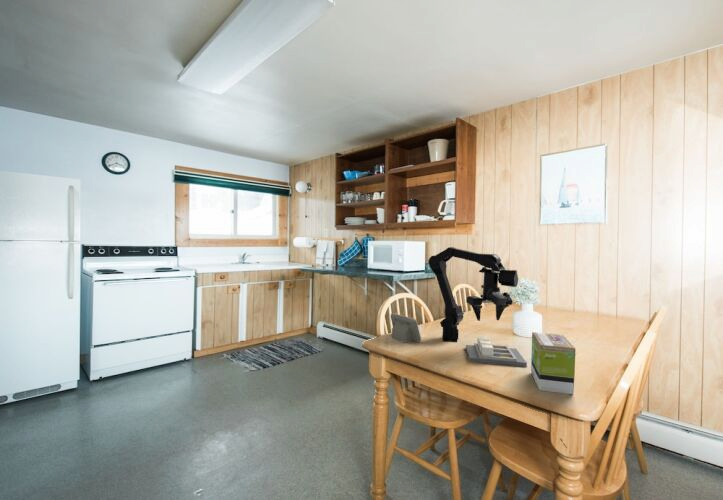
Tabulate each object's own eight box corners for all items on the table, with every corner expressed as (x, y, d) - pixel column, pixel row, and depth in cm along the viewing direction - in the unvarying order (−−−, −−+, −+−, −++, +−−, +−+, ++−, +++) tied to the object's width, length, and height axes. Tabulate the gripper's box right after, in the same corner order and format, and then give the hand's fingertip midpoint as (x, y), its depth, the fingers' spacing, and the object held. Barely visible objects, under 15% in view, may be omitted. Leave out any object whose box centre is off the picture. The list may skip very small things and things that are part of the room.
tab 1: (478, 349, 142) (478, 339, 141) (477, 346, 145) (477, 336, 145) (488, 349, 141) (489, 340, 141) (487, 347, 144) (487, 337, 144)
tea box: (529, 372, 123) (531, 330, 122) (561, 376, 120) (563, 333, 119) (538, 390, 108) (540, 343, 108) (574, 395, 105) (577, 347, 105)
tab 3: (481, 357, 132) (482, 347, 132) (480, 354, 135) (481, 344, 135) (493, 358, 131) (493, 348, 131) (491, 355, 135) (491, 345, 134)
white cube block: (480, 353, 137) (480, 343, 137) (478, 350, 140) (479, 340, 140) (490, 354, 136) (491, 343, 136) (489, 351, 139) (489, 341, 139)
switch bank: (469, 361, 132) (470, 355, 131) (465, 348, 147) (465, 342, 147) (526, 366, 128) (526, 360, 128) (516, 352, 143) (516, 346, 143)
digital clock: (422, 342, 154) (423, 318, 153) (405, 345, 150) (406, 320, 149) (403, 333, 168) (403, 311, 168) (386, 334, 164) (387, 312, 164)
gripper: (481, 287, 137) (479, 326, 138) (522, 287, 142) (520, 325, 142) (466, 282, 148) (464, 319, 149) (505, 282, 152) (502, 318, 153)
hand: (488, 320), depth 148 cm, fingers open, 9 cm apart
